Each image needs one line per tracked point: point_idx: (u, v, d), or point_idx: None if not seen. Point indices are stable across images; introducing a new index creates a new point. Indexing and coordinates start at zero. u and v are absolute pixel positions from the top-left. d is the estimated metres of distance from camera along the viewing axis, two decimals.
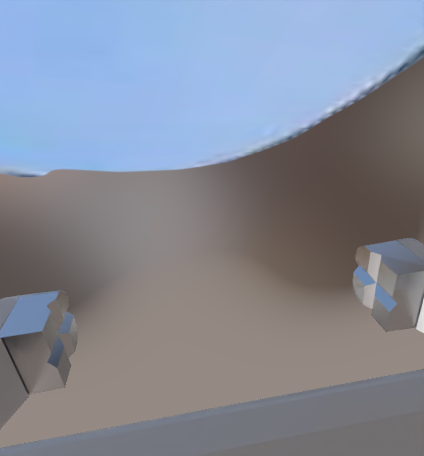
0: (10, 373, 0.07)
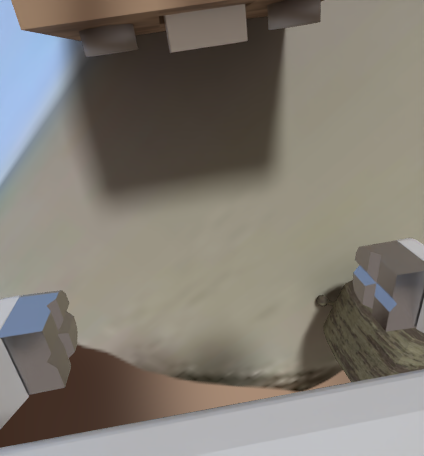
0: (10, 373, 0.07)
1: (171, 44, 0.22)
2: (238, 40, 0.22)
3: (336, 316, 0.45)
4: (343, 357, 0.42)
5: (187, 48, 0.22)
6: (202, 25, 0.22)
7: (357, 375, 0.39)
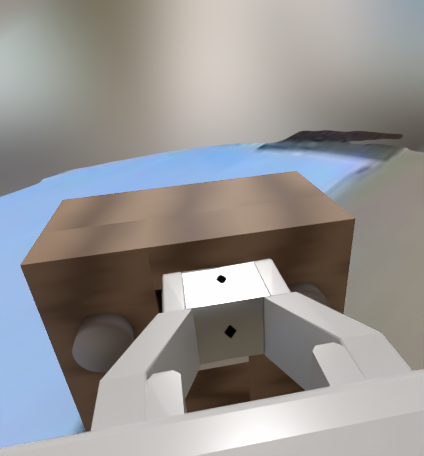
0: (194, 342, 0.08)
1: None
2: None
3: None
4: None
5: None
6: None
7: None
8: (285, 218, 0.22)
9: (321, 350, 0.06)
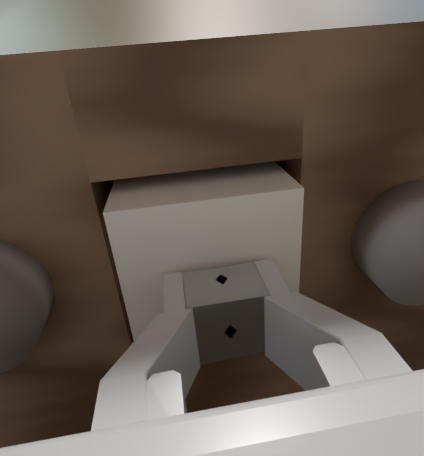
0: (194, 342, 0.08)
1: (108, 205, 0.09)
2: (279, 189, 0.09)
3: None
4: None
5: (146, 206, 0.08)
6: (190, 185, 0.09)
7: None
8: None
9: (321, 350, 0.06)
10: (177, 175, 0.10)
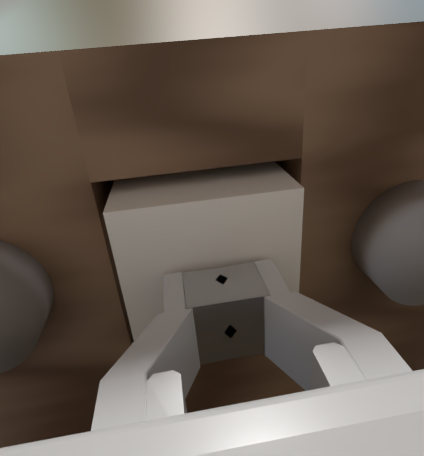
0: (194, 342, 0.08)
1: (108, 205, 0.09)
2: (279, 189, 0.09)
3: None
4: None
5: (146, 206, 0.08)
6: (190, 185, 0.09)
7: None
8: None
9: (321, 350, 0.06)
10: (177, 175, 0.10)
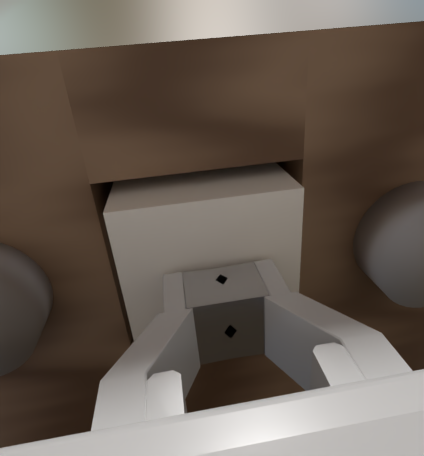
0: (194, 342, 0.08)
1: (108, 205, 0.09)
2: (279, 189, 0.09)
3: None
4: None
5: (146, 206, 0.08)
6: (190, 185, 0.09)
7: None
8: None
9: (321, 350, 0.06)
10: (177, 175, 0.10)
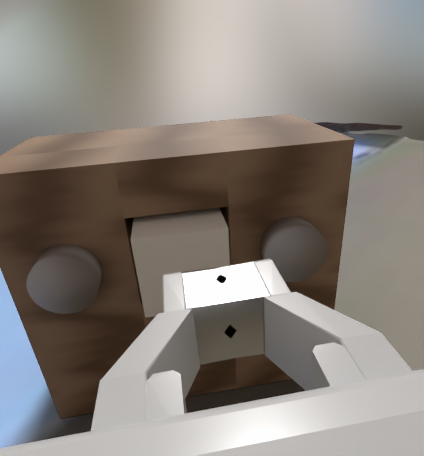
0: (194, 342, 0.08)
1: (132, 235, 0.18)
2: (216, 228, 0.18)
3: None
4: None
5: (151, 236, 0.17)
6: (173, 224, 0.19)
7: None
8: (275, 141, 0.19)
9: (321, 350, 0.06)
10: (167, 218, 0.19)
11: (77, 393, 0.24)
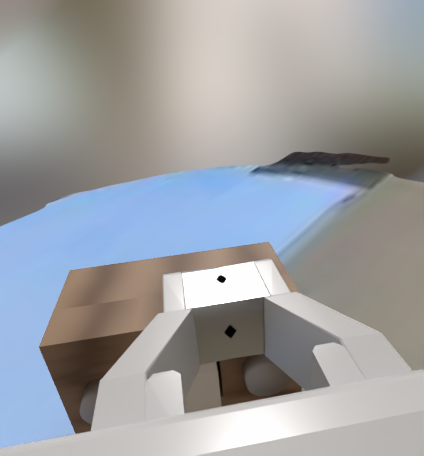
0: (194, 342, 0.08)
1: None
2: (209, 372, 0.26)
3: None
4: None
5: None
6: None
7: None
8: None
9: (321, 350, 0.06)
10: None
11: None
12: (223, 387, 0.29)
